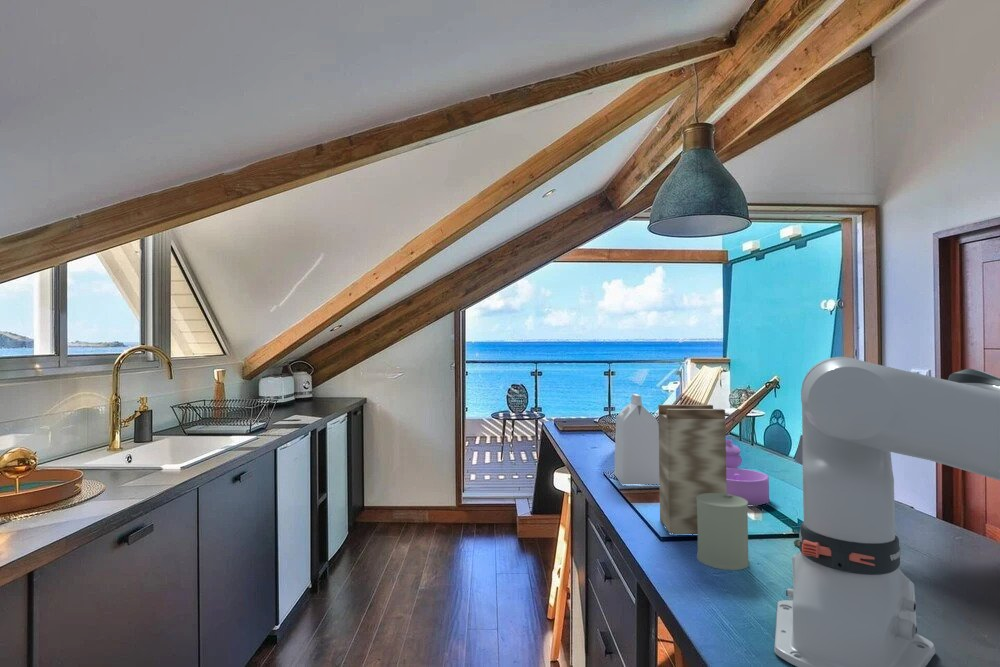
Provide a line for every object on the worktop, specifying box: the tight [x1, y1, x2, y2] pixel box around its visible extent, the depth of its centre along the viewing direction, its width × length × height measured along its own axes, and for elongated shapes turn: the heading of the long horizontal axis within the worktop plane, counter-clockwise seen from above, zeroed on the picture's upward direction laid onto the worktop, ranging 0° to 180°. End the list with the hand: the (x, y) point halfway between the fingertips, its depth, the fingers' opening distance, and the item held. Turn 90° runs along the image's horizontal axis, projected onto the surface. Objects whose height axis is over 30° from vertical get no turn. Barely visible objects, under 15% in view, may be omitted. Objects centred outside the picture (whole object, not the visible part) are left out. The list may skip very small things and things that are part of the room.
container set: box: [726, 439, 770, 505], centre depth 147 cm, size 25×15×13 cm, turn 166°
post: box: [658, 404, 727, 535], centre depth 119 cm, size 12×10×27 cm
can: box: [696, 493, 751, 571], centre depth 101 cm, size 9×9×12 cm
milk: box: [613, 393, 660, 484], centre depth 161 cm, size 12×12×26 cm
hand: (830, 374), depth 117 cm, fingers closed on steel bar, 3 cm apart
